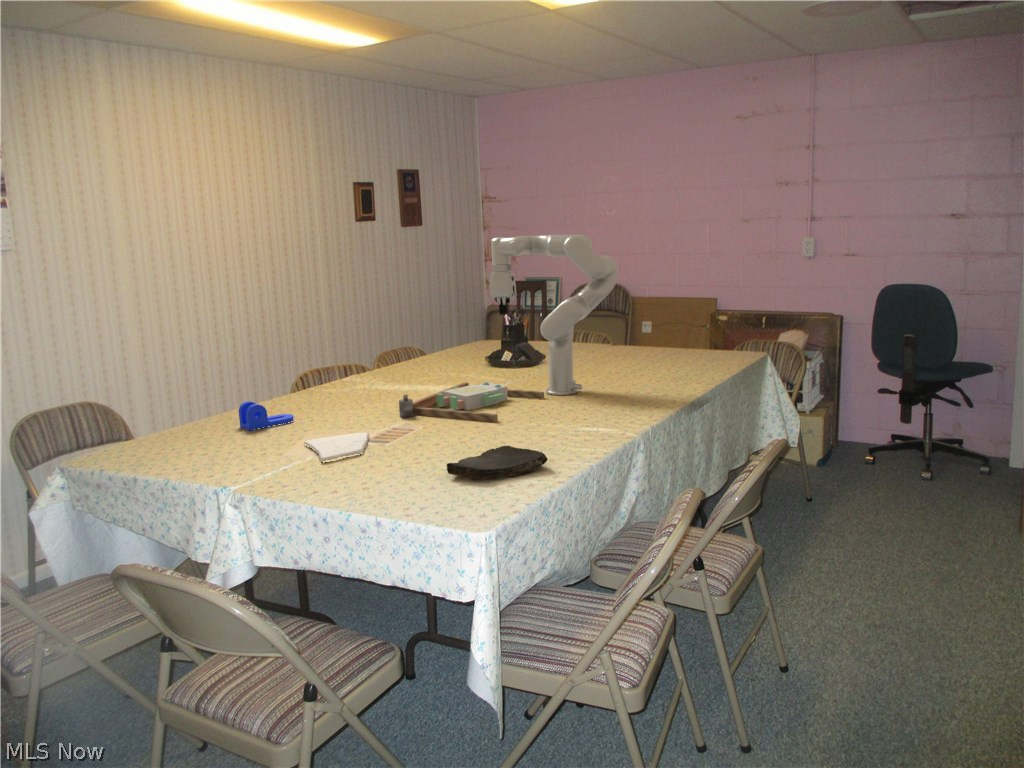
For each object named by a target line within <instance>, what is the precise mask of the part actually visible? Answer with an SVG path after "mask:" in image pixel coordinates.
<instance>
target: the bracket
mask: <svg viewBox="0 0 1024 768" xmlns="http://www.w3.org/2000/svg"><path fill="white" fill-rule="evenodd" d="M238 419H239V427H240V428H241V427H242V428H241V429H243V428H245V429H247V430H246V431H248V430H254V429H258V428H263V427H268V426H273V425H278V424H283V423H288V422H291V421H293V420H294V419H295V418H294V415H293V414H290V413H284V414H283V413H281V414H275V415H270V416H268V412H267V409H266V407H265V406H264V405H261V404H259V403H255V402H254V401H251V400H250V401H249V400H248V401H245V402H243V403H242V404H240V406H239V409H238ZM293 422H294V421H293ZM245 429H244V430H245ZM254 431H255V430H254Z"/></svg>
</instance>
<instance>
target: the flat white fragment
mask: <svg viewBox="0 0 1024 768" xmlns="http://www.w3.org/2000/svg"><path fill="white" fill-rule="evenodd" d="M368 437H369V438H370V434H369V432H354V433H347V434H341V435H340V434H339V435H334V436H327V437H321V438H320V437H319V438H312V439H307V440H306V439H305V441H304V444H306V445H307V446H309V447H311V448H313V449H314V450H315V451H316V452H317V453H318V454H319V455H318V454H317V453H316V452H315V453H316V454H317V455H318V458H319V457H320V458H319V459H320V462H321V461H326V460H331V459H335V458H338V457H343V456H349V455H354V454H360V453H362V452H363V451H364V452H365V449H366V448H365V446H366V447H367V445H368V443H367V442H368V440H369V439H368ZM366 444H367V445H366ZM364 448H365V449H364Z"/></svg>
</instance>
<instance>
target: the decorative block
mask: <svg viewBox="0 0 1024 768" xmlns="http://www.w3.org/2000/svg"><path fill="white" fill-rule="evenodd" d="M452 387H453V389H451V390H446V389H445V390H446V391H443V390H442V391H443V394H441V393H438V392H436V403H437V407H446V406H447V407H450V408H449V410H456V411H459V410H461V411H471V410H475V409H479V408H483V407H488V406H492V405H496V404H499V403H500V401H501V402H505V401H508V397H507V389H508V386H506V385H501V384H497V383H492V382H487V381H486V382H483V383H481V384H470V385H469V386H465V387H460V388H458V387H454V386H452ZM504 400H505V401H504Z"/></svg>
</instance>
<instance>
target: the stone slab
mask: <svg viewBox="0 0 1024 768" xmlns="http://www.w3.org/2000/svg"><path fill="white" fill-rule="evenodd" d="M547 461H548V457H547V456H546V454H545V453H544V452H542V451H539V450H533V449H529V448H521V447H520V448H519V447H513V446H511V445H503V446H499V447H496V448H490V449H488V450H486V451H484V452H481V454H480V455H476V456H470V457H465V458H461V459H459V460H458V462H448V463H446V471H447V473H448V474H449V475H453V476H458V477H460V478H467V479H470V480H493V479H502V478H503V479H504V478H508V477H516V476H521V475H523V474H525V473H529V472H532V471H534V470H536V469H538V468H540V467H542V466H544V465H545V464H546V463H547Z"/></svg>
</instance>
